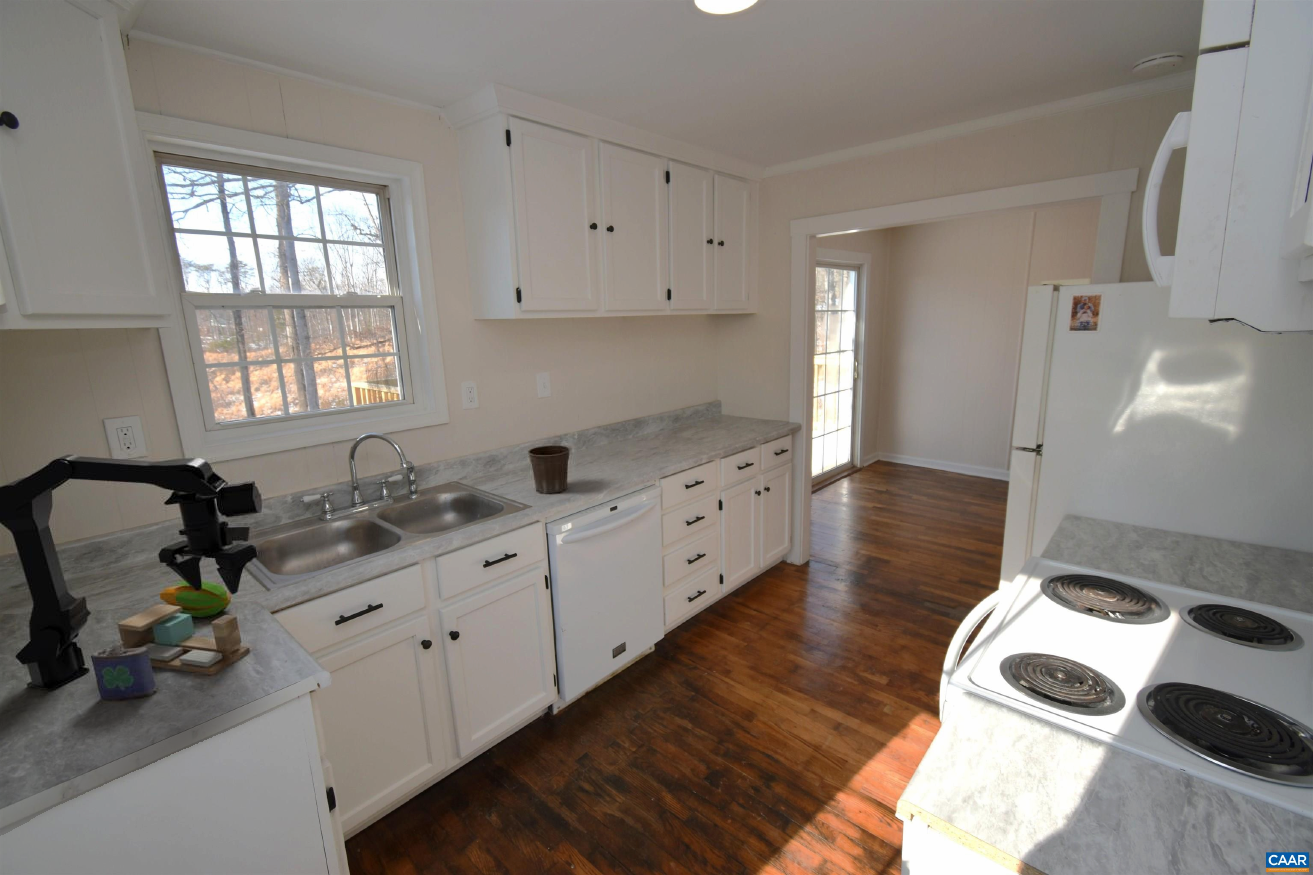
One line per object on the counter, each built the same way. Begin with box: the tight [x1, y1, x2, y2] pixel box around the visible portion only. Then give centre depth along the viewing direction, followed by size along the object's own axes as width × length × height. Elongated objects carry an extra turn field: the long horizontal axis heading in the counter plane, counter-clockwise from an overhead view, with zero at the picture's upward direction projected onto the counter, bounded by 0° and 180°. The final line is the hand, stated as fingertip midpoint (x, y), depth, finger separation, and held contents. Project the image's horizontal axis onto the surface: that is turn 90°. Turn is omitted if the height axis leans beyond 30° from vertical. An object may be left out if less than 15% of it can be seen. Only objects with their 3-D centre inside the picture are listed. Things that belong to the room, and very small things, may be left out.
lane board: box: [117, 603, 251, 676], centre depth 116 cm, size 8×22×9 cm, turn 77°
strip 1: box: [154, 614, 242, 654], centre depth 118 cm, size 3×19×7 cm, turn 77°
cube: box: [152, 613, 196, 646], centre depth 119 cm, size 4×4×4 cm
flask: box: [90, 640, 158, 702], centre depth 104 cm, size 9×3×11 cm, turn 95°
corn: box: [159, 580, 232, 618], centre depth 135 cm, size 7×8×20 cm
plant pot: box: [527, 445, 571, 495], centre depth 223 cm, size 16×16×16 cm
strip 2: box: [142, 643, 222, 667], centre depth 115 cm, size 3×19×1 cm, turn 77°
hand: (216, 591), depth 119 cm, fingers open, 9 cm apart
